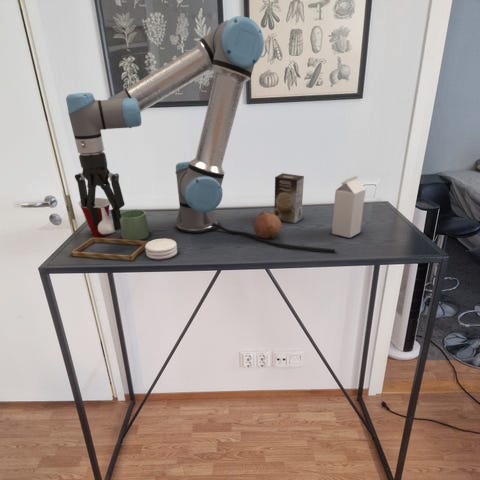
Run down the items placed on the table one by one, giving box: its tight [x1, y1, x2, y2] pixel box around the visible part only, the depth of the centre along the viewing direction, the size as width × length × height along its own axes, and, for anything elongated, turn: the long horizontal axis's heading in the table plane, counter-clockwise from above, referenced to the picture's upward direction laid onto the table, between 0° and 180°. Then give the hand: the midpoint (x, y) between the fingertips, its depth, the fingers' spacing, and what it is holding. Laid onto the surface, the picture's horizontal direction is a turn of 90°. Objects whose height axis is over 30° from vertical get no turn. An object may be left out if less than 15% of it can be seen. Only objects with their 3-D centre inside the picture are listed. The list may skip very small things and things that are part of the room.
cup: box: [119, 209, 150, 241], centre depth 148 cm, size 10×10×8 cm
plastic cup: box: [78, 197, 111, 238], centre depth 150 cm, size 11×11×12 cm
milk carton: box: [331, 174, 366, 239], centre depth 141 cm, size 7×7×19 cm
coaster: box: [144, 238, 178, 261], centre depth 135 cm, size 10×10×4 cm
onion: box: [253, 211, 283, 241], centre depth 142 cm, size 10×9×10 cm
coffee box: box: [273, 172, 305, 224], centre depth 157 cm, size 9×6×16 cm
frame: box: [70, 237, 149, 261], centre depth 139 cm, size 21×13×1 cm, turn 76°
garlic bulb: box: [98, 207, 116, 235], centre depth 134 cm, size 6×6×8 cm
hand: (108, 228), depth 136 cm, fingers closed on garlic bulb, 6 cm apart
